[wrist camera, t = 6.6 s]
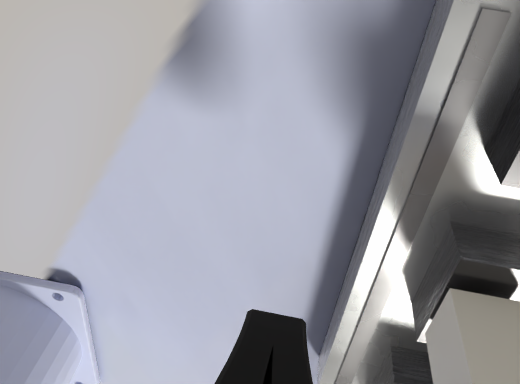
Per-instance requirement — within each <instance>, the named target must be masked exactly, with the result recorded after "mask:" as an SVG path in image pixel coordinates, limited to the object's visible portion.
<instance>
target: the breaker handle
mask: <svg viewBox="0 0 520 384" xmlns="http://www.w3.org/2000/svg"><path fill="white" fill-rule="evenodd" d="M425 337H426V343H427V349H428V355H429V361H430V367H431V373H432V380H433V384H520V301H516V300H510V299H505V298H500V297H494V296H489V295H484V294H478V293H473V292H468V291H462V290H457V289H452V288H450V289H449V291H448V292H447V294H446V296H445V298H444V300H443V302H442V303H441V305H440V307H439V309H438V311H437V313H436V314H435V316H434V318H433V320H432V322H431V323H430V325H429V327H428V329H427V331H426V333H425Z"/></svg>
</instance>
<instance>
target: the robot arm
mask: <svg viewBox="0 0 520 384" xmlns="http://www.w3.org/2000/svg"><path fill="white" fill-rule="evenodd" d="M100 383H101V381H100V376H99V371H98V366H97V360H96V355H95V350H94V345H93V339H92V334H91V329H90V324H89V318H88V313H87V308H86V303H85V298H84V294H83V292H82V291H81V290H80V289H79V288H78V287H76V286H73V285H69V284H64V283H59V282H54V281H49V280H43V279H38V278H33V277H28V276H23V275H18V274H13V273H8V272H3V271H0V384H100ZM215 384H313V382H312V376H311V370H310V364H309V357H308V349H307V339H306V323H305V322H304V320H303V319H299V318H294V317H289V316H284V315H279V314H274V313H269V312H264V311H259V310H254V309H252V310H250V311H248V312H247V315H246V319H245V322H244V324H243V327H242V330H241V332H240V335H239V337H238V339H237V342H236V344H235V346H234V348H233V350H232V352H231V354H230V356H229V358H228V360H227V362H226V364H225V366H224V368H223V369H222V371H221V373H220V375H219V377H218V378H217V380H216V382H215Z"/></svg>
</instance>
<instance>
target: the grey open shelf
mask: <svg viewBox="0 0 520 384" xmlns="http://www.w3.org/2000/svg"><path fill="white" fill-rule="evenodd" d="M450 288H452V289H457V290H462V291H468V292H473V293H478V294H484V295H489V296H494V297H500V298H505V299H510V300H516V301H520V0H437V1H436V4H435V7H434V10H433V13H432V16H431V19H430V22H429V25H428V28H427V31H426V34H425V37H424V40H423V43H422V46H421V49H420V52H419V55H418V58H417V61H416V64H415V67H414V70H413V74H412V77H411V80H410V83H409V86H408V89H407V92H406V95H405V98H404V101H403V104H402V107H401V110H400V113H399V116H398V119H397V122H396V125H395V128H394V131H393V134H392V137H391V140H390V143H389V146H388V149H387V152H386V155H385V158H384V161H383V165H382V168H381V171H380V174H379V177H378V180H377V183H376V186H375V189H374V192H373V195H372V198H371V201H370V204H369V207H368V210H367V213H366V216H365V219H364V222H363V225H362V228H361V231H360V234H359V237H358V240H357V243H356V246H355V249H354V252H353V256H352V259H351V262H350V265H349V268H348V271H347V274H346V277H345V280H344V283H343V286H342V289H341V292H340V295H339V298H338V301H337V304H336V307H335V310H334V313H333V316H332V319H331V322H330V325H329V328H328V331H327V334H326V337H325V340H324V344H323V347H322V350H321V353H320V356H319V364H318V383H317V384H433V380H432V373H431V367H430V361H429V355H428V349H427V343H426V337H425V333H426V331H427V329H428V327H429V325H430V323H431V322H432V320H433V318H434V316H435V314H436V313H437V311H438V309H439V307H440V305H441V303H442V302H443V300H444V298H445V296H446V294H447V292H448V291H449V289H450Z"/></svg>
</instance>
